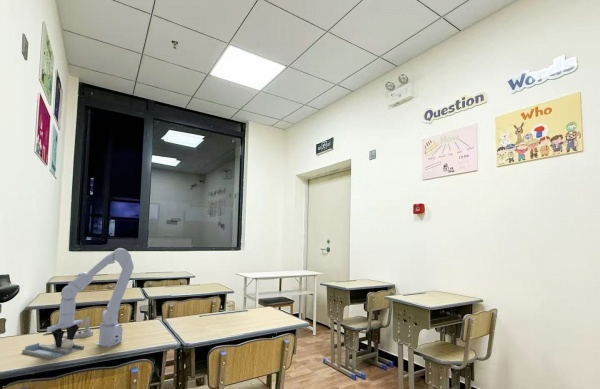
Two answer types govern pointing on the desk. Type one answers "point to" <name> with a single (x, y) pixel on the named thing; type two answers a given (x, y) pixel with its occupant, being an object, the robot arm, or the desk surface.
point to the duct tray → (49, 350)
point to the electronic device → (85, 332)
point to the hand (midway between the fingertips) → (63, 345)
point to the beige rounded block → (66, 344)
